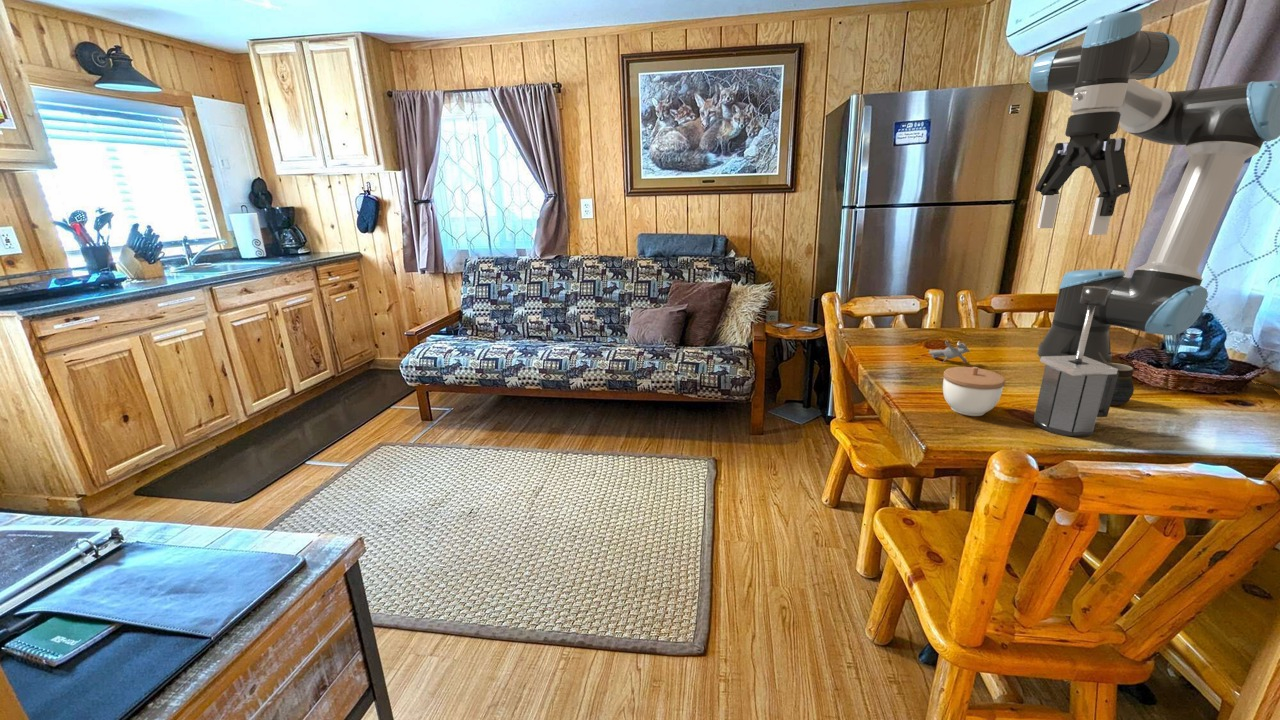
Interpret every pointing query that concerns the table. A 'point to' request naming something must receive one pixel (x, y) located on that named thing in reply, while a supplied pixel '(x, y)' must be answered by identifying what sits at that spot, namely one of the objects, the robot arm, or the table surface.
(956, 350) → the grey animal figurine
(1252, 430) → the table surface
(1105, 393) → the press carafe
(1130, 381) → the mate gourd
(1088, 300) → the plunger
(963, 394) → the lidded jar
